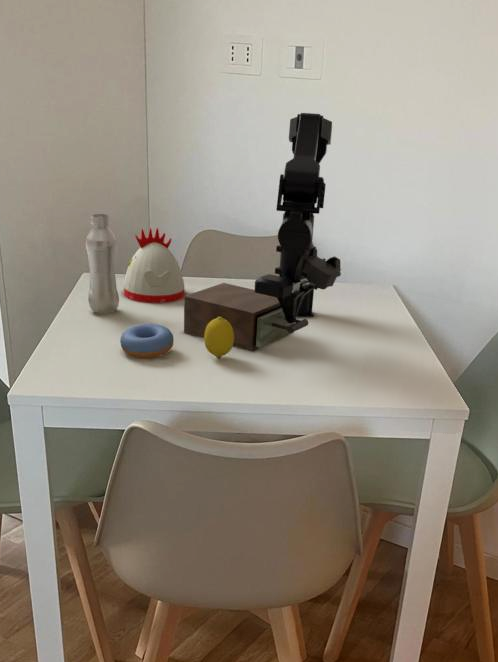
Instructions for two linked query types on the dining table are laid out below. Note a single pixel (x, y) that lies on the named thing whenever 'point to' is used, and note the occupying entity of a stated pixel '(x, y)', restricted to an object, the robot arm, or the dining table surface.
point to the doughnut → (146, 340)
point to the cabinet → (227, 311)
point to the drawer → (274, 327)
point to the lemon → (219, 337)
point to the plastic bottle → (102, 265)
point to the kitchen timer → (153, 272)
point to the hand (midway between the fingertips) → (290, 322)
